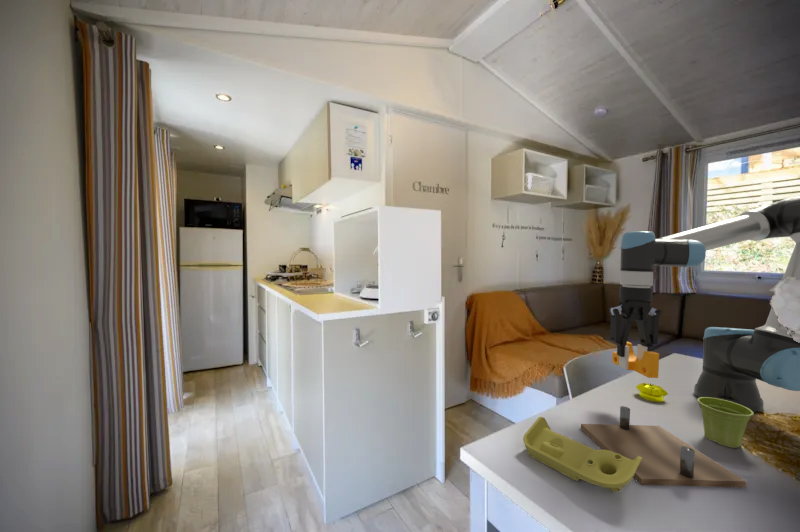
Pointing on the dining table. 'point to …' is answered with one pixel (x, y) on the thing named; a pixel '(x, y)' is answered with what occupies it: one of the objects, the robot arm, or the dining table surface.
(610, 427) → the base plate
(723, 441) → the plant pot
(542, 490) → the dining table surface
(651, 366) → the pipe clamp
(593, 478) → the plastic component
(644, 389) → the gear
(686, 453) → the locating stubs
